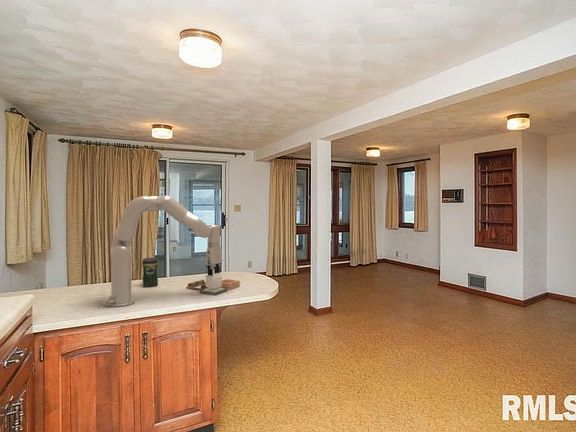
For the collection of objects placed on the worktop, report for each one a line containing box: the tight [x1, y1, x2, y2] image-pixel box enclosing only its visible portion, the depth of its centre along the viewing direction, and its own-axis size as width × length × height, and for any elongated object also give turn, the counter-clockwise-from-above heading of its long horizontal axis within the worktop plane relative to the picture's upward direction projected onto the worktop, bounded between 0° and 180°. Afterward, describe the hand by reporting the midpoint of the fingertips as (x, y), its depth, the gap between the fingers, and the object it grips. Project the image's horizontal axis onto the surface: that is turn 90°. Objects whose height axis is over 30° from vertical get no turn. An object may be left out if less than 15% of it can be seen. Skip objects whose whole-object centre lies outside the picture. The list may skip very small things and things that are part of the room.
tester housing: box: [199, 288, 229, 296], centre depth 205 cm, size 12×12×2 cm
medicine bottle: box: [205, 266, 223, 289], centre depth 205 cm, size 7×7×12 cm
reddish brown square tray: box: [219, 278, 241, 291], centre depth 218 cm, size 11×11×4 cm
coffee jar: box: [141, 257, 159, 288], centre depth 220 cm, size 10×8×19 cm
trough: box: [185, 279, 208, 292], centre depth 218 cm, size 17×12×3 cm
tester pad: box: [203, 287, 224, 292], centre depth 205 cm, size 9×9×1 cm
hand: (213, 274), depth 205 cm, fingers closed on medicine bottle, 6 cm apart
